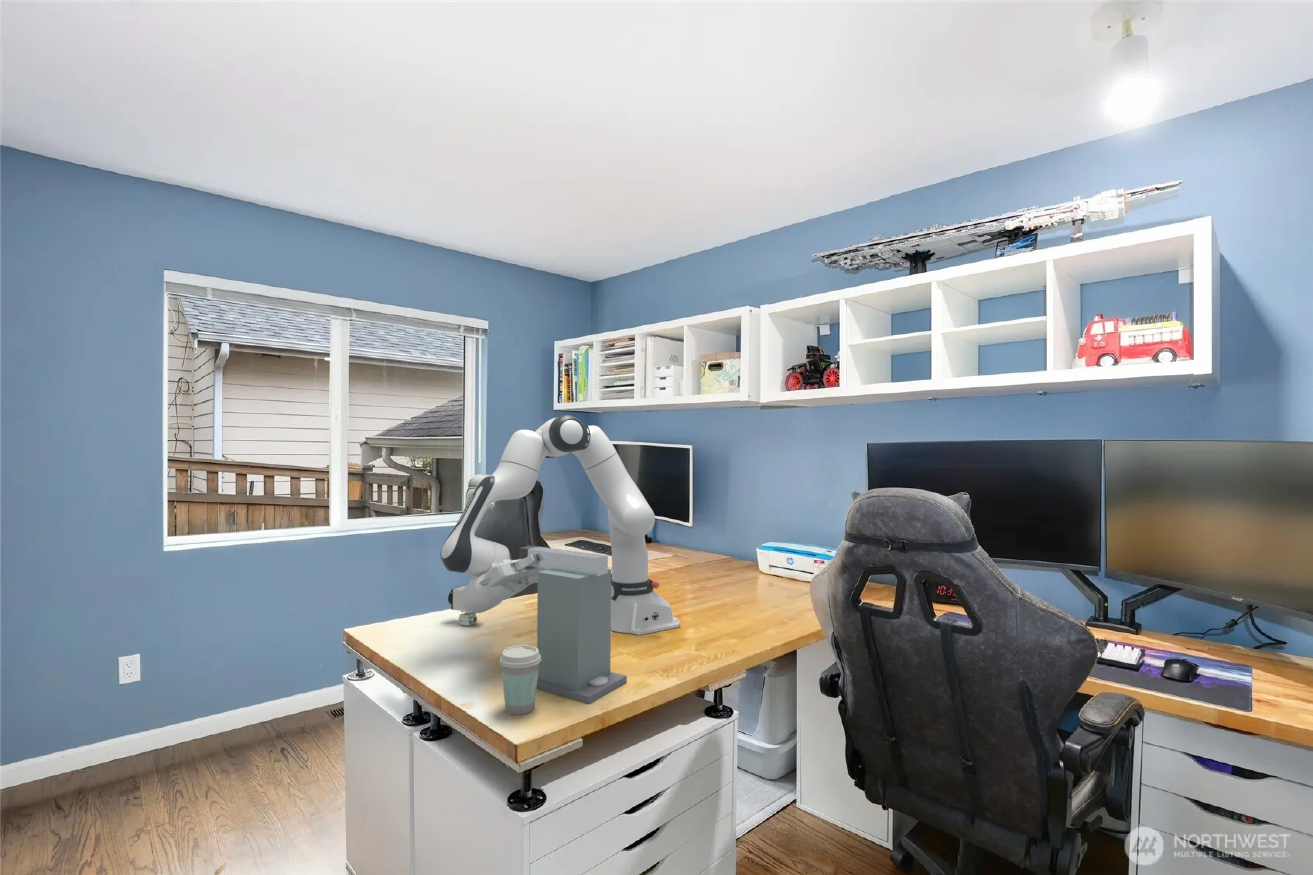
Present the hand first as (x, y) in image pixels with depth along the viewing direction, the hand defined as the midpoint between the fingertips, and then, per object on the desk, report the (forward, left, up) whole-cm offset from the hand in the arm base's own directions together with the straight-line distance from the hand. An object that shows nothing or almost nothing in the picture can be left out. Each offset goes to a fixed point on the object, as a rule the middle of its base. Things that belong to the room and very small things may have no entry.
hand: (543, 555), depth 145 cm
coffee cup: (+8, +17, -29) cm, 34 cm away
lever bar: (-3, +5, -2) cm, 6 cm away
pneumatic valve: (+12, -48, -29) cm, 57 cm away
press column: (-7, +10, -28) cm, 31 cm away
